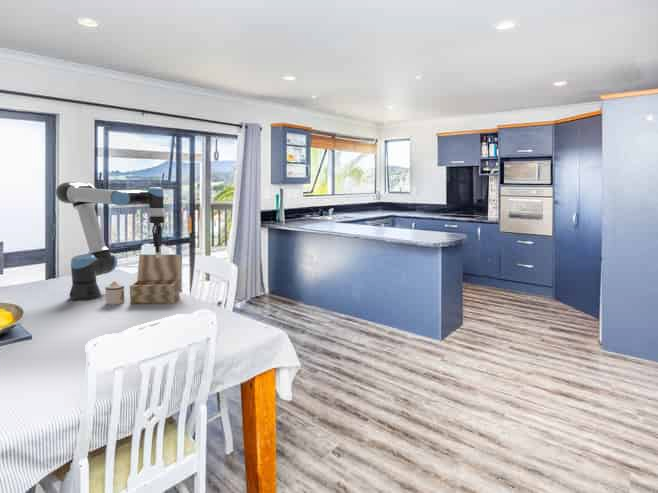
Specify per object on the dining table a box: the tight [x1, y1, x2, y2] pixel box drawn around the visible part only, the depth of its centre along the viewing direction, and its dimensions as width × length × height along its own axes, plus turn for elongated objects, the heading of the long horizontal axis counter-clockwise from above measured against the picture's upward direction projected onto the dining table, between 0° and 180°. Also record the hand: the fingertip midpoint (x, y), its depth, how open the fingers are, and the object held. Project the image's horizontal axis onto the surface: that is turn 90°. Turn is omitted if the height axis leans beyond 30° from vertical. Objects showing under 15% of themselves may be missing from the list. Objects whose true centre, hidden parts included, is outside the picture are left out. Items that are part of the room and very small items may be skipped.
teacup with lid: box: [104, 280, 125, 306], centre depth 228 cm, size 12×9×12 cm
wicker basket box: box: [129, 280, 180, 305], centre depth 233 cm, size 22×14×10 cm, turn 97°
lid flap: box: [136, 254, 183, 281], centre depth 242 cm, size 23×14×1 cm
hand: (158, 257), depth 239 cm, fingers closed
